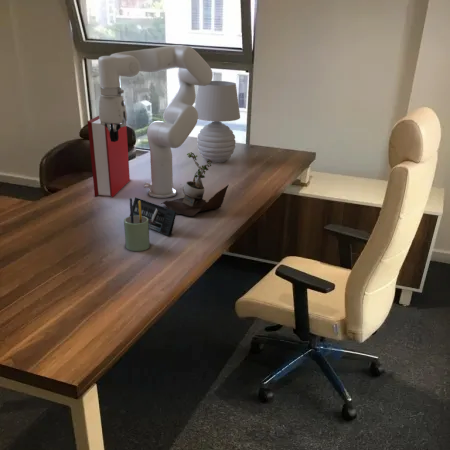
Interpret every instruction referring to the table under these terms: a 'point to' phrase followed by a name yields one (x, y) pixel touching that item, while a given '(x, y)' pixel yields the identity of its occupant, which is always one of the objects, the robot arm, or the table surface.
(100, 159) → the book
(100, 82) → the robot arm
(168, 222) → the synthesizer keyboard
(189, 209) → the potted plant
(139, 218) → the pen cup
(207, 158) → the table lamp
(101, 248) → the table surface
